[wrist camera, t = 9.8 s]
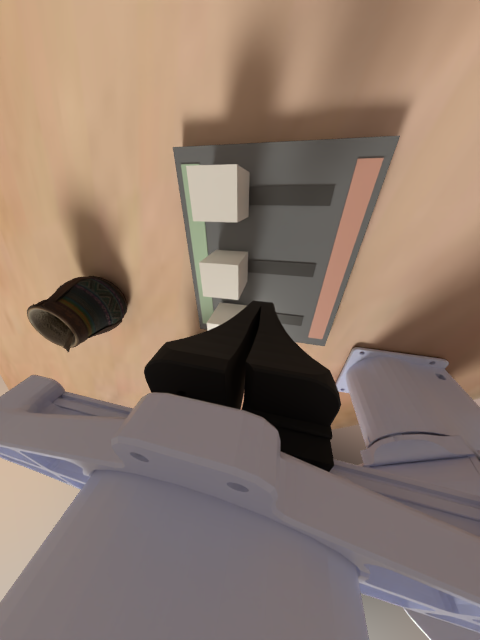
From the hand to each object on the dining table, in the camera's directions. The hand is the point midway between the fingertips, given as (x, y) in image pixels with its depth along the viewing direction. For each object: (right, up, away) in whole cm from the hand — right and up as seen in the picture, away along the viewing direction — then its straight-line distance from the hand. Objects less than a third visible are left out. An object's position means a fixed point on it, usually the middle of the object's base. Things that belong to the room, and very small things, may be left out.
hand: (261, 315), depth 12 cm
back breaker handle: (-2, 0, +9) cm, 9 cm away
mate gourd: (-19, +3, +14) cm, 24 cm away
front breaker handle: (-2, +9, +3) cm, 10 cm away
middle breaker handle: (-2, +5, +6) cm, 8 cm away
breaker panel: (+1, +6, +7) cm, 9 cm away
